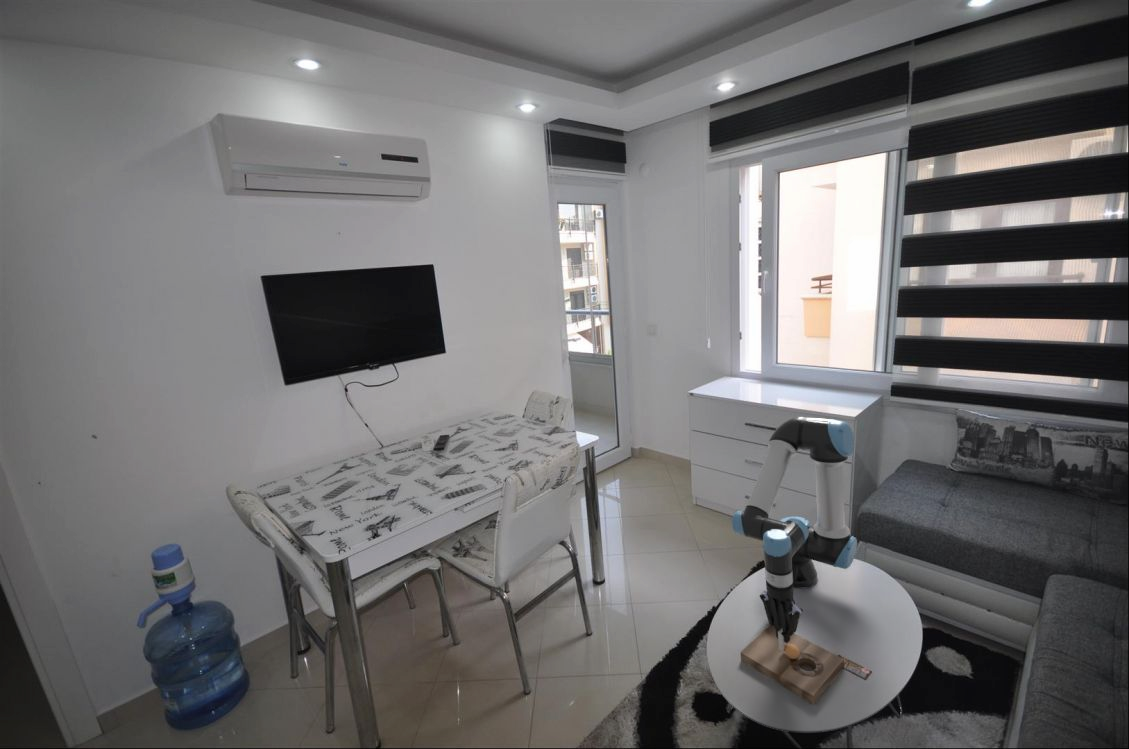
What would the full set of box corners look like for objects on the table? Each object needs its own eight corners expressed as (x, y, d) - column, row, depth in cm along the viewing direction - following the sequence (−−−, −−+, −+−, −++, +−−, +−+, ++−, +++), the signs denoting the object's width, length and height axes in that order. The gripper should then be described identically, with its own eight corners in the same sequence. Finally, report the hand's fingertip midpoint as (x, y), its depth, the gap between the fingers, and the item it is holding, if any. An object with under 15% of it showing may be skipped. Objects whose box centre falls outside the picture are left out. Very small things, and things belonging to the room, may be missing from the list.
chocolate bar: (875, 674, 145) (875, 671, 145) (868, 684, 142) (868, 681, 142) (836, 654, 154) (836, 652, 153) (829, 663, 151) (829, 661, 151)
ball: (803, 648, 149) (800, 657, 151) (791, 638, 152) (788, 648, 154) (795, 655, 147) (793, 664, 149) (783, 645, 150) (781, 654, 152)
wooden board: (741, 660, 156) (740, 652, 156) (772, 630, 166) (772, 622, 166) (813, 704, 138) (813, 695, 137) (844, 667, 148) (843, 659, 147)
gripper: (752, 577, 151) (757, 644, 156) (793, 596, 141) (797, 667, 145) (766, 566, 155) (771, 631, 160) (807, 584, 145) (810, 653, 150)
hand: (783, 648), depth 153 cm, fingers closed
